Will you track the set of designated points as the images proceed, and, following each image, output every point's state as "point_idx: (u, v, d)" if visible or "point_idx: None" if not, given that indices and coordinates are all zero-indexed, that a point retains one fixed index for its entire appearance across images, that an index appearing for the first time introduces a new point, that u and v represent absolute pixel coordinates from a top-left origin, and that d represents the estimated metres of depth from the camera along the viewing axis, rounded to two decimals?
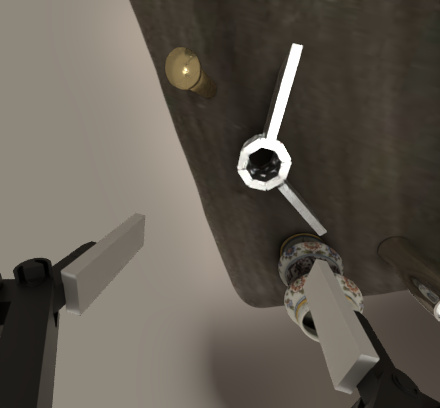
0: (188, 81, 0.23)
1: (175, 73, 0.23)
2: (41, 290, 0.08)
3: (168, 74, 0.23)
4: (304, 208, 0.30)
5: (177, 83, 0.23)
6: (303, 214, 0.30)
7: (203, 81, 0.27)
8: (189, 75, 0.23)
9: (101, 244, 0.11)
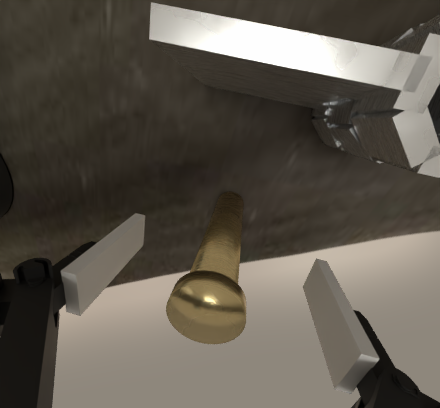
0: (230, 309, 0.10)
1: (214, 329, 0.10)
2: (41, 290, 0.08)
3: (215, 341, 0.11)
4: None
5: (233, 329, 0.10)
6: None
7: (226, 243, 0.14)
8: (218, 306, 0.10)
9: (101, 244, 0.11)
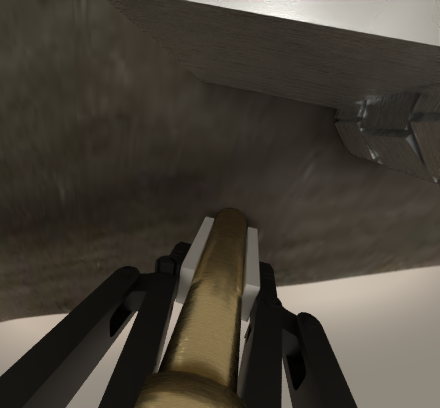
0: None
1: None
2: (168, 285, 0.10)
3: None
4: None
5: None
6: None
7: (221, 298, 0.09)
8: None
9: (196, 244, 0.13)
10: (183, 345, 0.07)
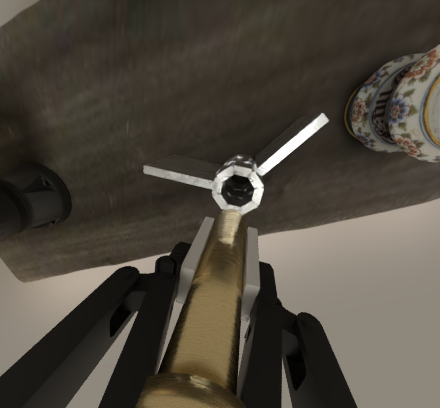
0: None
1: None
2: (168, 285, 0.10)
3: None
4: (287, 145, 0.26)
5: None
6: (295, 145, 0.26)
7: (221, 299, 0.09)
8: None
9: (197, 244, 0.13)
10: (183, 346, 0.07)
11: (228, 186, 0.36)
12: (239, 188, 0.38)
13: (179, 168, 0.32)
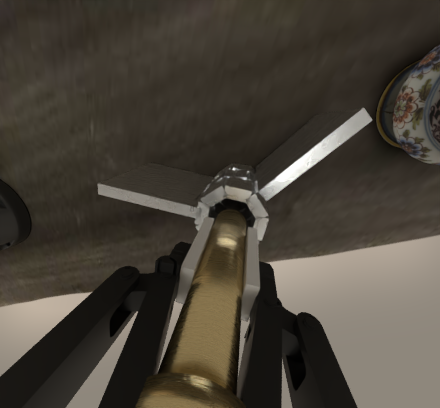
0: None
1: None
2: (168, 285, 0.10)
3: None
4: (305, 157, 0.17)
5: None
6: (317, 158, 0.17)
7: (221, 299, 0.09)
8: None
9: (196, 244, 0.13)
10: (183, 346, 0.07)
11: (220, 207, 0.27)
12: (235, 208, 0.29)
13: (151, 186, 0.23)
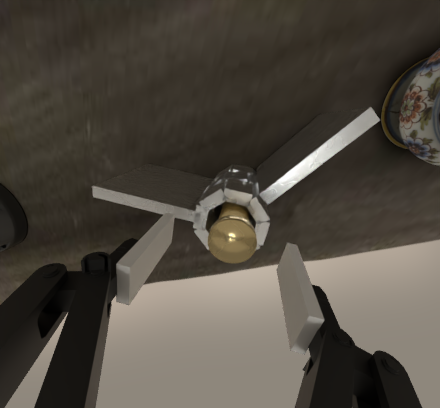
0: (248, 236, 0.16)
1: (237, 251, 0.17)
2: (100, 282, 0.09)
3: (237, 260, 0.17)
4: (308, 159, 0.16)
5: (249, 251, 0.17)
6: (321, 160, 0.16)
7: (240, 206, 0.20)
8: (240, 234, 0.16)
9: (144, 240, 0.12)
10: (227, 215, 0.18)
11: (220, 210, 0.26)
12: None
13: (148, 188, 0.22)
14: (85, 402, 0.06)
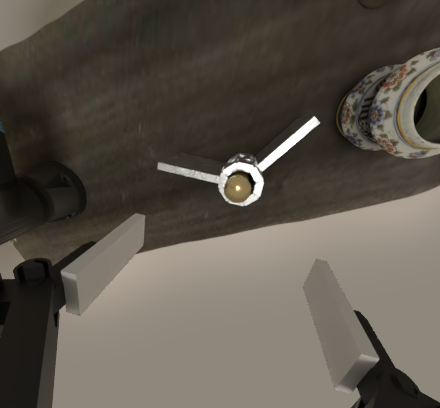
0: (246, 186, 0.30)
1: (240, 195, 0.30)
2: (41, 290, 0.08)
3: (240, 201, 0.30)
4: (284, 144, 0.30)
5: (246, 194, 0.30)
6: (291, 144, 0.29)
7: (243, 174, 0.33)
8: (242, 185, 0.30)
9: (101, 244, 0.11)
10: None
11: None
12: None
13: (188, 165, 0.35)
14: None
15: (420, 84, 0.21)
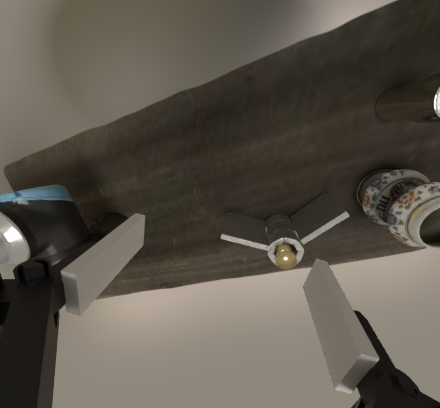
0: (293, 259, 0.40)
1: (288, 264, 0.40)
2: (41, 290, 0.08)
3: (287, 268, 0.41)
4: (321, 228, 0.40)
5: (293, 264, 0.40)
6: (327, 228, 0.40)
7: (286, 243, 0.44)
8: (290, 258, 0.40)
9: (101, 244, 0.11)
10: (282, 248, 0.42)
11: None
12: None
13: (242, 233, 0.45)
14: None
15: (424, 212, 0.31)
